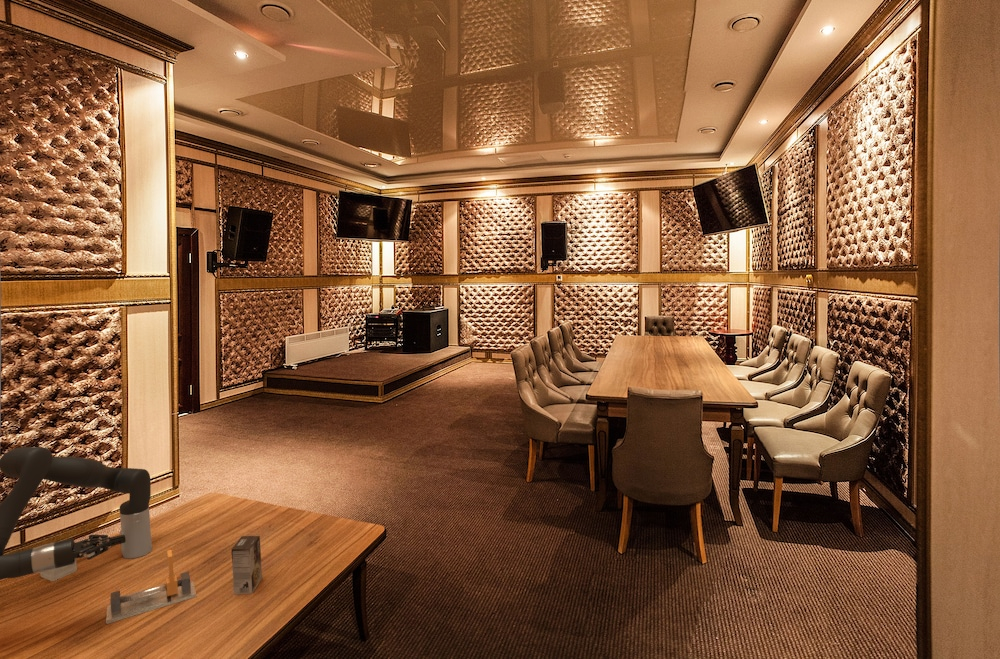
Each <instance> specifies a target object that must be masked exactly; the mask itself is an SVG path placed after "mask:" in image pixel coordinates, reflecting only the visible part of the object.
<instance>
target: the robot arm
mask: <svg viewBox="0 0 1000 659" xmlns="http://www.w3.org/2000/svg"><path fill="white" fill-rule="evenodd" d="M0 471H1V472H2V473H3V474H4V475H6V477H9V478H13V479H15V478H16V479H18V480H17V481H16V484H15V485H14V487H13V488H12V489H11V491H10V493H9V494H8V495H7V496H6V497H5V498H4V499H3V500H2V501H1V502H0V581H1V580H5V579H15V578H20V577H24V576H28V575H32V574H37V573H40V572H44V571H48V570H52V569H56V568H60V567H64V566H68V565H72V564H74V563H75V559H76V560H77V559H82V558H86V560H88V561H90V560H92V559H94V558H95V557H98V556H100V555H102V554H103V553H106V552H107V551H109V549H110V548H111V547H113V546H117V545H118V546H119V545H120V547H121V548H120V549H121V554H122V556H123V558H124V559H136V558H140V557H143V556H145V555H147V554H149V553H151V551H152V550H153V548H152V547H153V546H152V532H151V530H152V528H151V517H150V502H151V496H152V495H151V494H152V492H151V475H150V473H149V471H148V470H147V469H144V468H130V467H129V468H128V467H124V468H122V467H120V468H119V467H109V466H106V465H105V464H104V463H102V462H101V461H98V460H94V459H91V458H85V457H77V456H55V455H54V456H53V453H52V452H51V450H50V449H49V448H47V447H44V446H26V447H25V446H22V447H17V448H12V449H10V450H8V451H6V452H5V453H4V454H3V455H2V456H1V457H0ZM43 480H45V481H49V482H53V483H59V484H61V485H62V484H63V485H68V486H71V487H72V486H73V487H80V488H103V489H105V490H110V491H112V492H117V493H119V494H129V499H128V500H126V501H124V502H122V503H121V504H119V505H120V506H119V518H120V531H119V535H116V536H109V535H108V534H89V535H88V538H87V539H86V538H85V539H82V540H80V541H77V542H76V541H75V540H74V538H68V539H67V538H66V539H64V540H59V541H54V542H50V543H46V544H43V545H39V546H37V547H33V548H29V549H24V550H21V551H20V550H19V551H16V552H13V553H8V554H5V555H4V553H5V549H6V548H7V545H8V543H9V541H10V539H11V537H12V535H13V533H14V530H15V529H16V528H15V527H16V525H17V523H18V522H19V519H20V517H21V516H22V513H23V512H24V510H25V508H26V506H27V505H28V503H29V502H30V500H31V499H32V497H33V496H34V494H35V493H36V491H37V490H38V488H39V486H40V485H41V483H42V482H43Z"/></svg>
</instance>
